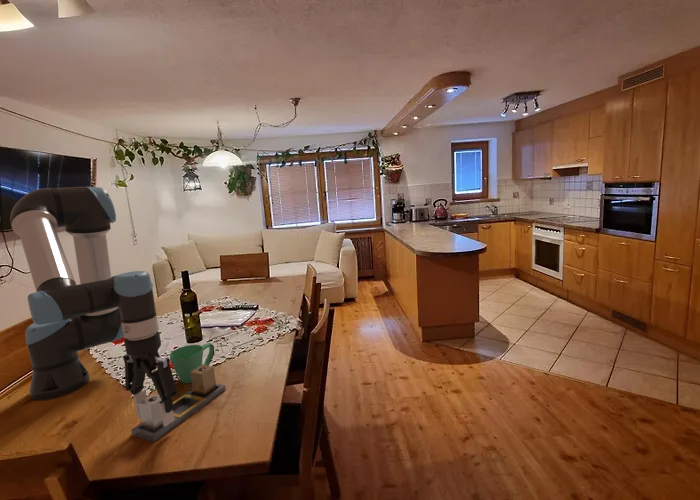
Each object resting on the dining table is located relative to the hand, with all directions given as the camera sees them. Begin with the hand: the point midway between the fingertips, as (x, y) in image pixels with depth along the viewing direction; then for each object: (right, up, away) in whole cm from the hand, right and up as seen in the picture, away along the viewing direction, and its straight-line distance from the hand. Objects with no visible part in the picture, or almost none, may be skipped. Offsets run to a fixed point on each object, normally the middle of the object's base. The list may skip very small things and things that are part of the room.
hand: (155, 419), depth 90 cm
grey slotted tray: (+3, -2, +8) cm, 9 cm away
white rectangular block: (0, -2, 0) cm, 2 cm away
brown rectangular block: (+7, 0, +15) cm, 16 cm away
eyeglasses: (+3, +5, +52) cm, 52 cm away
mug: (-1, +1, +27) cm, 27 cm away
